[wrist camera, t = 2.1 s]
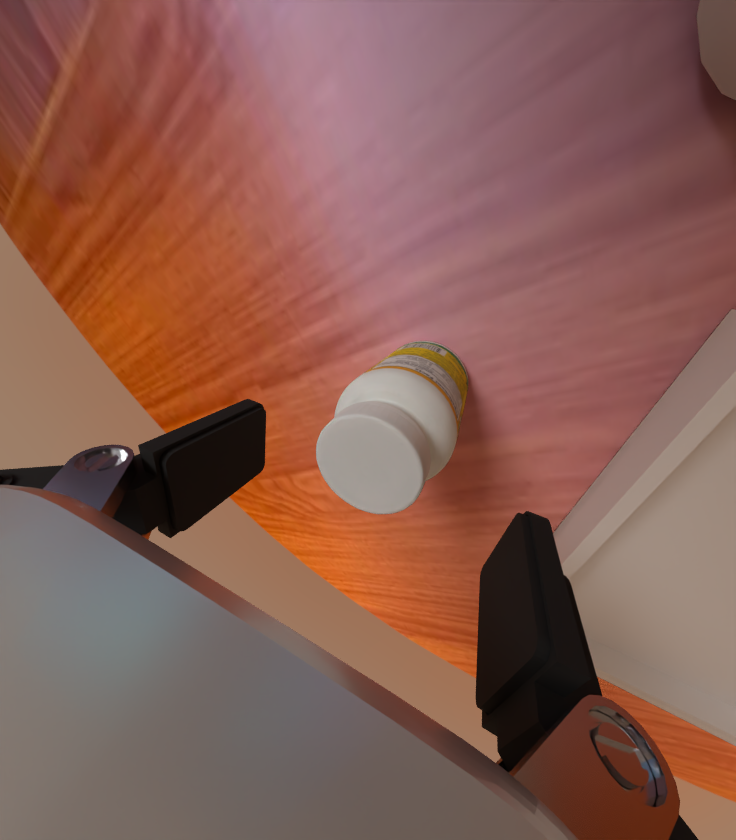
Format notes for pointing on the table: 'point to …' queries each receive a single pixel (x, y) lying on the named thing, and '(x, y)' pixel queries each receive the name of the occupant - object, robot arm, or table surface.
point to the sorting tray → (667, 548)
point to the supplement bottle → (394, 428)
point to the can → (718, 42)
